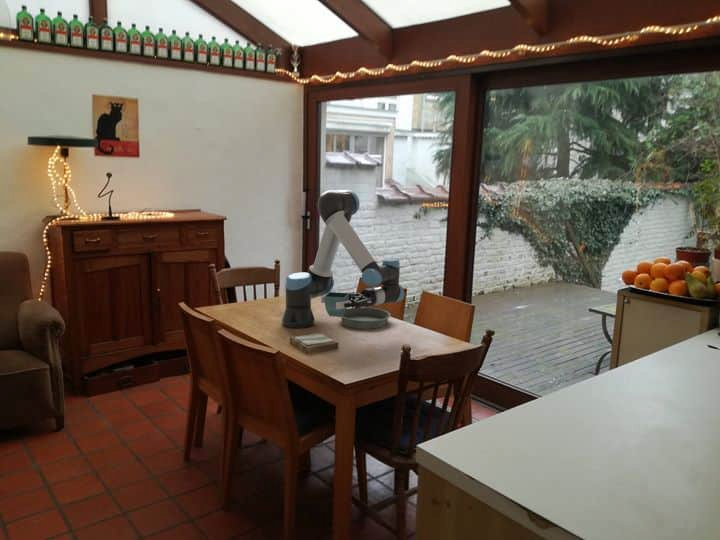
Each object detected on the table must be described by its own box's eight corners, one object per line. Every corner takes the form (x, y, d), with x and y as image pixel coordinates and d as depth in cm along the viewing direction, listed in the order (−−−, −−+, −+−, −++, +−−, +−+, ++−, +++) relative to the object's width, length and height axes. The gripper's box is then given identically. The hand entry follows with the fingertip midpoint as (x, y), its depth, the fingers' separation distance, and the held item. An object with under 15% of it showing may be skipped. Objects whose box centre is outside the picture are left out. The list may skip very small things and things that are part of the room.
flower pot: (323, 317, 244) (323, 296, 242) (329, 312, 252) (329, 291, 250) (344, 319, 242) (344, 297, 240) (349, 313, 250) (349, 293, 248)
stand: (290, 343, 247) (290, 336, 247) (319, 338, 255) (319, 331, 254) (307, 353, 234) (307, 346, 234) (338, 348, 242) (338, 341, 241)
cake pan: (345, 331, 266) (345, 321, 266) (333, 317, 290) (333, 308, 289) (397, 328, 273) (397, 319, 272) (381, 314, 296) (381, 306, 295)
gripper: (388, 311, 247) (344, 318, 235) (356, 299, 266) (314, 305, 254) (388, 293, 245) (344, 299, 233) (357, 283, 265) (314, 288, 252)
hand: (328, 302), depth 244 cm, fingers closed on flower pot, 11 cm apart
